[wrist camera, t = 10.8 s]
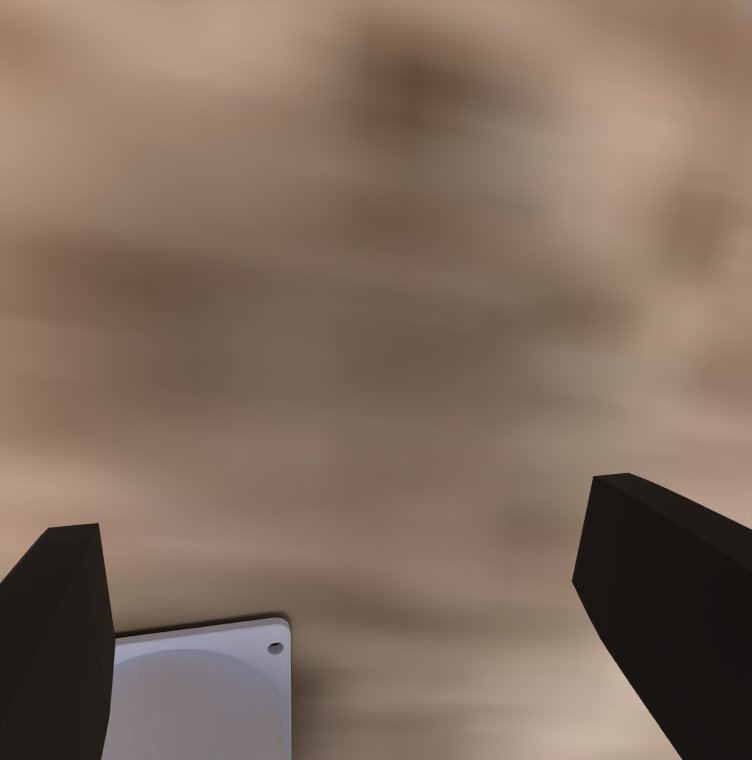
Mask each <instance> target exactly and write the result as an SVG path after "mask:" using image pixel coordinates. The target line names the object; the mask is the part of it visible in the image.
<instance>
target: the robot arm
mask: <svg viewBox="0 0 752 760" xmlns="http://www.w3.org/2000/svg"><path fill="white" fill-rule="evenodd" d="M572 583H573V585H574V587H575V589H576V591H577V593H578V595H579V597H580V600H581V602H582V604H583V606H584V608H585V610H586V612H587V614H588V616H589V618H590V620H591V622H592V624H593V626H594V627H595V629H596V631H597V633H598V635H599V637H600V639H601V641H602V642H603V644H604V645H605V647H606V648H607V650H608V651H609V653H610V654H611V656H612V657H613V659H614V660H615V662H616V663H617V665H618V666H619V668H620V669H621V671H622V672H623V674H624V675H625V677H626V678H627V680H628V681H629V683H630V684H631V686H632V687H633V689H634V690H635V691H636V693H637V694H638V696H639V697H640V699H641V700H642V702H643V703H644V705H645V706H646V707H647V709H648V710H649V712H650V713H651V715H652V716H653V718H654V719H655V721H656V722H657V723H658V725H659V726H660V728H661V729H662V731H663V732H664V734H665V735H666V737H667V738H668V739H669V741H670V742H671V744H672V745H673V747H674V748H675V750H676V751H677V753H678V754H679V756H680V757H681V758H682V760H752V529H749V528H747V527H745V526H743V525H741V524H739V523H737V522H735V521H733V520H731V519H729V518H727V517H725V516H723V515H721V514H719V513H717V512H714V511H712V510H710V509H708V508H706V507H704V506H702V505H700V504H698V503H696V502H694V501H692V500H690V499H688V498H686V497H683V496H681V495H679V494H677V493H675V492H673V491H671V490H669V489H666V488H664V487H662V486H660V485H657V484H655V483H653V482H651V481H648V480H646V479H643V478H641V477H638V476H635V475H633V474H630V473H622V474H612V475H601V476H593V481H592V486H591V490H590V495H589V500H588V505H587V510H586V515H585V520H584V525H583V530H582V535H581V539H580V544H579V549H578V554H577V559H576V564H575V569H574V574H573V579H572ZM275 642H276V643H280V644H278V645H275V646H271V644H273V643H275ZM0 760H291V633H290V627H289V623H288V622H287V621H286V620H285V619H282V618H268V619H260V620H253V621H245V622H238V623H230V624H222V625H215V626H207V627H200V628H192V629H184V630H177V631H169V632H162V633H154V634H146V635H139V636H131V637H124V638H116V639H115V634H114V627H113V620H112V613H111V606H110V599H109V592H108V585H107V578H106V571H105V564H104V557H103V550H102V543H101V536H100V529H99V523H94V524H83V525H73V526H62V527H52V528H48V529H47V530H46V531H45V532H44V533H43V534H42V535H41V536H40V537H39V538H38V539H37V540H36V542H35V543H34V544H33V545H32V546H31V547H30V549H29V550H28V551H27V552H26V553H25V555H24V556H23V557H22V558H21V559H20V561H19V562H18V563H17V564H16V565H15V566H14V568H13V569H12V570H11V571H10V572H9V574H8V575H7V576H6V577H5V578H4V579H3V581H2V582H1V583H0Z"/></svg>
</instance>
